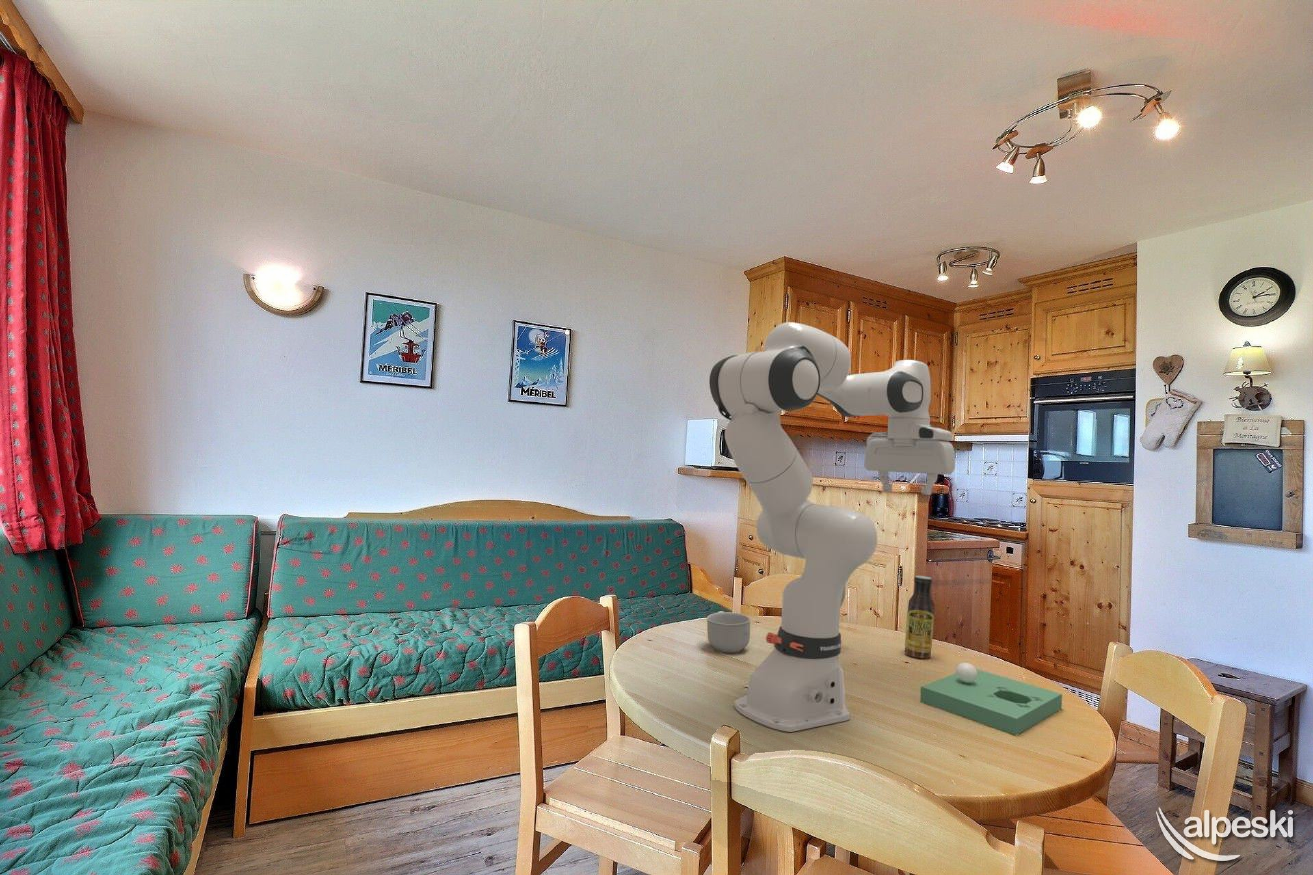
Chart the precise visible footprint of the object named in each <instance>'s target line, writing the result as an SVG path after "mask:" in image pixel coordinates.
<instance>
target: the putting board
mask: <svg viewBox="0 0 1313 875" xmlns="http://www.w3.org/2000/svg"><path fill="white" fill-rule="evenodd" d="M975 669H976V671H977V678H976V680H975V681H974V682H972V683H965V682H962V681H961V680H960V679H959V678H958V677H957V675H956V672H955V673H953V674H951V675H947V676H945V677H943V678H940V679H937V680H935V681H932V682H929V683H927V684H923V685H921V686H920V696H919V697H920V699H919V700H920V701H919V702H920V703H923V704H926V705H929V706H932V707H934V708H938V709H940V710H942V711H945V712H949V713H952V714H954V715H957V716H960V717H962V716H963V718H966V719H968V720H971V721H973V722H977V723H980V724H982V725H985V726H988V727H990V728H993V727H994V729H996V728H997V730H999V729H1000V731H1002V732H1005V733H1007V732H1009V733H1008V734H1010V733H1011V735H1013V734H1015V735H1014V736H1016V735H1017V734H1018V735H1020V734H1022V733H1023V732H1025V731H1026V729H1027V730H1028V728H1029V727H1030V728H1032V727H1034V726H1036V725H1037V724H1039V723H1041V722H1043V720H1045V719H1047V718H1048V716H1049V717H1051V716H1052V715H1054V714H1055V712H1056V713H1057V712H1059V711H1061V710H1062V708H1063V705H1062V704H1063V694H1062V693H1060V692H1057V691H1053V690H1049V689H1045V688H1044V687H1043V688H1042V687H1039V686H1035V685H1032V684H1028V683H1025V682H1023V681H1020V680H1015V679H1011V678H1008V677H1004V676H1000V675H998V674H995V673H990V672H988V671H984V670H982V669H981V670H980V669H977V668H975ZM1033 725H1034V726H1033ZM1030 728H1029V729H1030ZM1021 732H1022V733H1021ZM1018 735H1017V736H1018Z"/></svg>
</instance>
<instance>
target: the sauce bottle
mask: <svg viewBox="0 0 1313 875" xmlns="http://www.w3.org/2000/svg"><path fill="white" fill-rule="evenodd" d="M913 581H914V589H913V594H912V595H911V597H910V598H909V600H908V606H907V612H906V624H905V639H904V647H905V648H904V652H905V654H906V655H907V656H909V657H911V658H915V659H924V660H926V659H927V660H928V659H929V658H930V657H931V654H932V650H933V649H932V647H933V637H934V636H933V635H934V624H935V623H934V621H935V620H934V619H935V616H934V615H935V603H934V601H933V599H932V596H931V590H932V589H931V588H932V587H931V586H932V584H933V582H932V581H933V578H932V577H929V576H925V575H914V579H913Z"/></svg>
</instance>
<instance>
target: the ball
mask: <svg viewBox="0 0 1313 875" xmlns="http://www.w3.org/2000/svg"><path fill="white" fill-rule="evenodd" d="M976 669H977V668H976V667H975V666H974V665H973V664H971V663H969V662H961V663H959V664H958V665H957V666H956V668H955V673H956V675H957V677H958V678H959V679H960V680H961V681H962V682H965V683H972V682H974V681H975V680H976V678H977V671H976Z"/></svg>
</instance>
